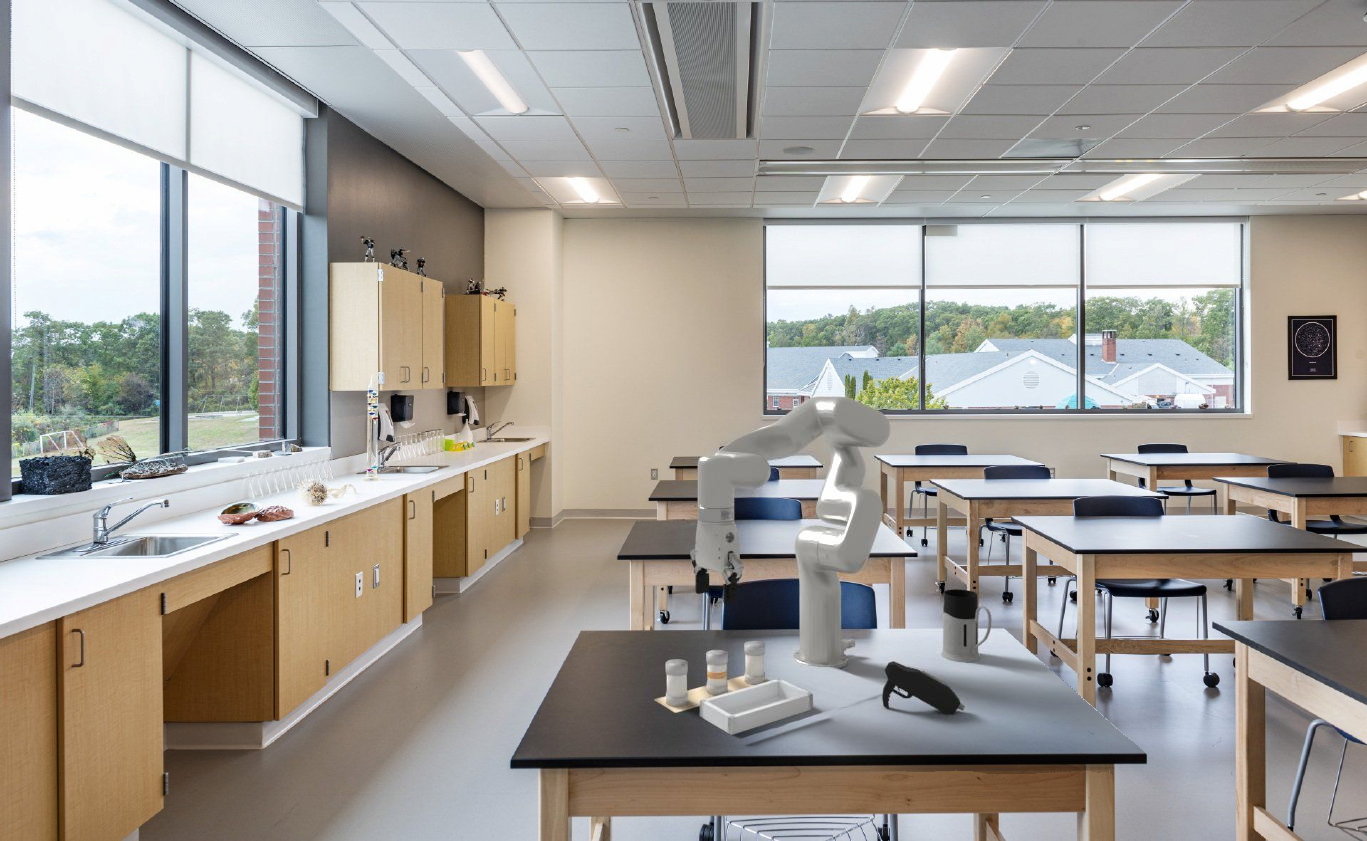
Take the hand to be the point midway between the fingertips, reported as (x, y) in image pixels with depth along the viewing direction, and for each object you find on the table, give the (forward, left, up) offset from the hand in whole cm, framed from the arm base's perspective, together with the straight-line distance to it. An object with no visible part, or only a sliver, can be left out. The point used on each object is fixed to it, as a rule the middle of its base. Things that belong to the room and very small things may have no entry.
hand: (715, 597), depth 161 cm
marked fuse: (0, 0, -20) cm, 20 cm away
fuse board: (0, 0, -21) cm, 21 cm away
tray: (0, +13, -21) cm, 24 cm away
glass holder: (-61, +16, -21) cm, 66 cm away
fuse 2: (-10, 0, -20) cm, 22 cm away
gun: (-29, +29, -21) cm, 46 cm away
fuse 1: (+10, 0, -20) cm, 22 cm away
